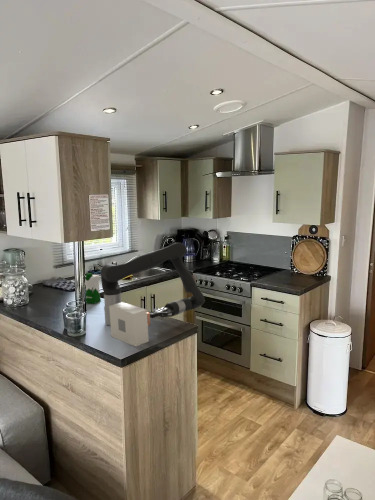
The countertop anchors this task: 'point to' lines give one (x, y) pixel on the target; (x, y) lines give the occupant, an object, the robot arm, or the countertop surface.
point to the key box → (129, 323)
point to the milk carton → (92, 288)
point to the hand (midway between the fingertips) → (150, 316)
